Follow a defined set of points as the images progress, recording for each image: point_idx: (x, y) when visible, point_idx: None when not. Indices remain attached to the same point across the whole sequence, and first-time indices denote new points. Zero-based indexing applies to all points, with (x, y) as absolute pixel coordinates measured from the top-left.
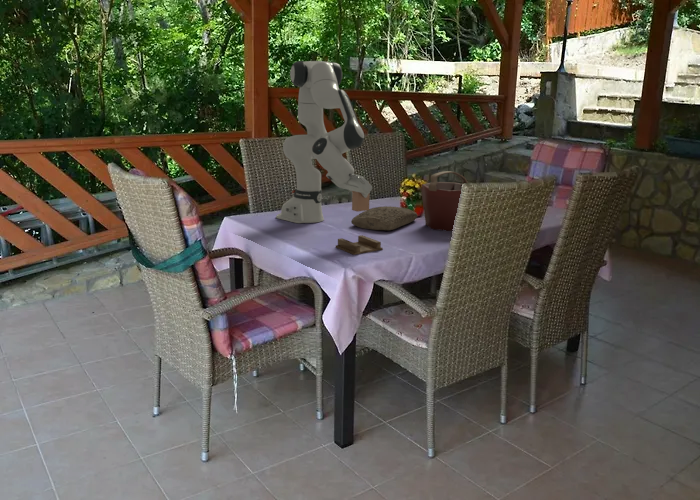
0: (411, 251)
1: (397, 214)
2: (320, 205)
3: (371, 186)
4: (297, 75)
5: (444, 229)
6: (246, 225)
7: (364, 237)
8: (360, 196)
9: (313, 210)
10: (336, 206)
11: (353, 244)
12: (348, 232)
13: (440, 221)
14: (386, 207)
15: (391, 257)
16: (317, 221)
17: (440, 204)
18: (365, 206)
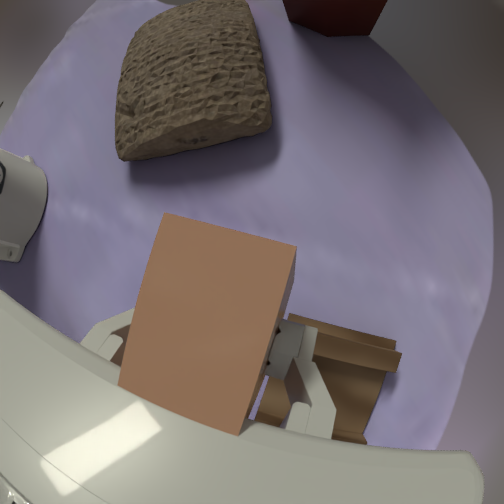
0: (462, 280)
1: (245, 48)
2: (12, 175)
3: (481, 486)
4: None
5: (362, 33)
6: None
7: (317, 349)
8: (262, 376)
9: (12, 210)
10: (40, 77)
11: None
12: None
13: (356, 20)
14: (181, 35)
15: (451, 382)
16: (41, 211)
17: None
18: (284, 312)
